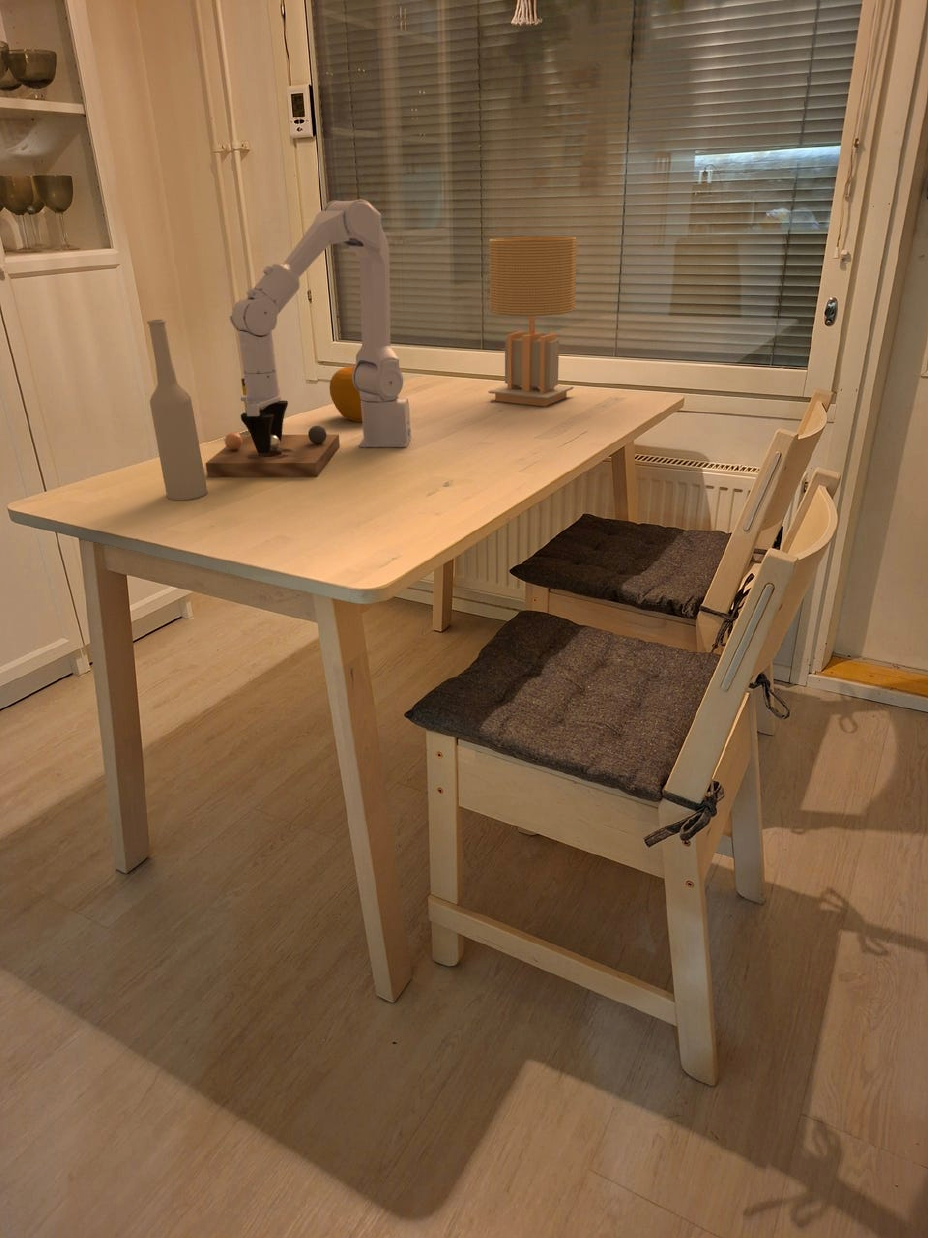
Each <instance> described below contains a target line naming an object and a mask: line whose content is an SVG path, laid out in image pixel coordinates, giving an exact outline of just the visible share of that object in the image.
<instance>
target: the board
mask: <svg viewBox="0 0 928 1238" xmlns="http://www.w3.org/2000/svg"><path fill="white" fill-rule="evenodd" d="M239 435H240V436H241V438H242V441H243V442H242V446H241V447H240V448H239V449H237V450H231V449H229V448H228V447H227V446H226V445H225V447H223V448H222V449H221V450H220V451H218V452H217V453H215V455H214V456H213V457H211V458H210V459H209V460H208V461H206V462H205V463H204V464H205V469H206V474H207V477H208V478H243V477H244V478H246V477H247V478H260V477H261V478H265V477H266V478H273V477H274V478H276V477H277V478H286V477H288V478H290V477H291V478H292V477H293V478H302V477H303V478H305V477H306V478H307V477H308V478H310V477H311V478H312V477H313V478H316V477H318V476H319V475H320V473H321V472H322V471H323V470H324V468H325V467H326V466H327V465H328V463H329V462H330V461H331V459H332V458H333V457H334V455H335V454H336V453H337V451H338V450H339V449H340V447H341V443H340V435H339V434H335V433H334V434H331V433H330V434H327V433H326V439H325V441H324V442H323V443H321V444H315V443H313V442H311V441H310V439H309V436H308V434H282V439H281V441H280V446H279V448H278V449H277V450H276V451H273V452H269V453H258V452H257V449H256V447H255V444H254V442H253V439H252V436H251V434H239Z"/></svg>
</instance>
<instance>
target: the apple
mask: <svg viewBox="0 0 928 1238" xmlns="http://www.w3.org/2000/svg"><path fill="white" fill-rule="evenodd" d="M354 368H355V365H354V366H347V367H343V368H340V369H338V370H337V371H336V372H335V373H334V374H333V376H332V377H331V379H330V382H329V396H330V398H331V401H332V403H333V404H334V406H335V408H336V409H337V411H338V412H339V413H340V415H341V416H343V417H344V418H346V419H348V420H351V421H353V422H354V423H355V422H356V423H359V422H361V423H362V411H361V398H360V394H359V390H357V389H356V387H355V386H354V384H353V380H352V373H353V370H354Z"/></svg>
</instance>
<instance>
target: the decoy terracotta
mask: <svg viewBox="0 0 928 1238" xmlns="http://www.w3.org/2000/svg"><path fill="white" fill-rule="evenodd" d="M240 435H241V434H239V433H237V432H229V433H228V434H227V435H226V436H225V438H224V444H225V447H226V446H227V447H228V448H229V449H231V450H237V449H239V448H240V447H241V446H242V442H243V441H242V438H241V436H240Z"/></svg>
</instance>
